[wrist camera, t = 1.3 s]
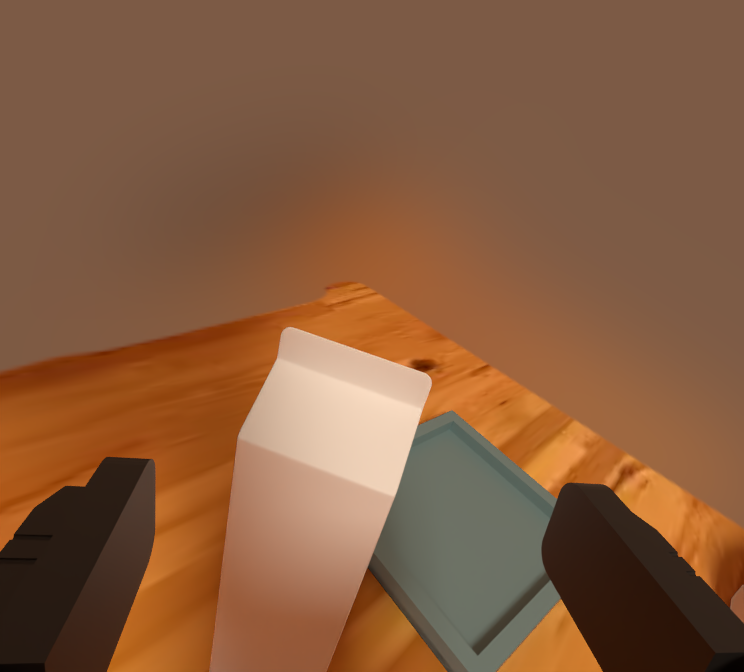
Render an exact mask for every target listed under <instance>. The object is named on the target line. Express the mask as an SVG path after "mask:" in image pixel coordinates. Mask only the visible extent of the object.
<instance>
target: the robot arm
mask: <svg viewBox="0 0 744 672" xmlns="http://www.w3.org/2000/svg"><path fill="white" fill-rule="evenodd" d="M154 535H155V463H154V460H153V459H138V458H120V457H106V458H105V459H104V460H103V461H102V462H101V464H100V465H99V467H98V468H97V470H96V471H95V473H94V474H93V476H92V477H91V479H90V480H89V482H88V483H87V485H86V486H85V487H80V486H65V487H63V488H62V489H60V490H59V491H57V492H56V493H55V494H53V495H52V496H50V497H49V498H47V499H46V500H45V501H43V502H42V503H40V504H39V505H37V506H36V507H35V508H34V509H33V510H32V512H31V513H30V514H29V515H28V517H27V518H26V519H25V521H24V522H23V523H22V525H21V526H20V527H19V528H18V530H17V531H16V532H15V534H14V538H13V540H9V541H8V543H7V544H6V545H5V547H4V548H3V549H2V551H1V552H0V672H107V669H108V667H109V664H110V662H111V659H112V656H113V654H114V651H115V649H116V646H117V643H118V641H119V638H120V636H121V633H122V630H123V628H124V625H125V623H126V620H127V617H128V615H129V612H130V610H131V607H132V604H133V602H134V599H135V597H136V594H137V592H138V589H139V586H140V584H141V581H142V579H143V576H144V573H145V571H146V568H147V565H148V563H149V559H150V556H151V552H152V547H153V542H154ZM541 554H542V561H543V565H544V568H545V571H546V573H547V575H548V576H549V578H550V580H551V582H552V583H553V585H554V587H555V589H556V590H557V592H558V594H559V596H560V597H561V599H562V601H563V603H564V604H565V606H566V608H567V610H568V611H569V613H570V615H571V617H572V618H573V620H574V622H575V623H576V625H577V627H578V629H579V630H580V632H581V634H582V636H583V637H584V639H585V641H586V643H587V644H588V646H589V648H590V650H591V651H592V653H593V655H594V657H595V658H596V660H597V662H598V664H599V665H600V667H601V669H602V671H603V672H744V623H743V622H742V621H741V620H740V619H739V618H738V617H737V615H736V614H735V613H734V612H733V611H732V610H731V609H730V608H729V607H728V606H727V605H726V604H725V603H724V602H723V601H722V599H721V598H720V597H719V596H718V595H717V594H716V593H715V592H714V591H713V590H712V589H711V588H710V587H709V586H708V584H707V583H706V582H705V581H704V580H703V579H702V578H701V577H700V576H696V575H695V571H694V569H693V568H692V567H691V566H690V565H689V564H688V563H687V562H686V561H685V560H684V559H683V558H682V557H678V552H677V551H676V550H675V549H674V548H673V547H672V546H671V545H670V544H669V543H668V542H667V541H666V539H665V538H664V537H663V536H662V535H661V534H660V533H659V532H658V531H657V530H656V529H654V528H653V527H652V526H650V525H649V524H648V523H646V522H645V521H643V520H642V519H641V518H639V517H638V516H637V515H635V514H634V513H632V512H631V511H630V510H629V508H628V507H627V506H626V505H625V504H624V503H623V502H622V501H621V500H620V499H619V497H618V496H617V495H616V494H615V493H614V492H613V491H612V490H611V489H610V488H609V487H607V486H606V485H602V484H584V483H567V484H565V485H564V486H563V487H562V489H561V491H560V493H559V496H558V499H557V501H556V504H555V507H554V510H553V512H552V515H551V518H550V521H549V523H548V526H547V529H546V532H545V534H544V537H543V540H542V546H541Z"/></svg>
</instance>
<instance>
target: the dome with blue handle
mask: <svg viewBox="0 0 744 672" xmlns="http://www.w3.org/2000/svg"><path fill="white" fill-rule="evenodd" d="M730 609H731V610H732V611H733V612H734V613H735V614H736V615H737V617H738V618H739V619H740V620H741V621H742V622H743V623H744V585H742V586H741V587H740V589H739V590H738V591H737V592H736V593H735V594H734V596H733V597H732V598H731V605H730Z"/></svg>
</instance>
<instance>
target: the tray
mask: <svg viewBox="0 0 744 672" xmlns="http://www.w3.org/2000/svg"><path fill="white" fill-rule="evenodd" d="M556 501H557V499H556V498H555V497H554V496H553V495H551V494H550V493H549V492H548V491H547V490H546V489H544V488H543V487H542V486H541V485H540V484H538V483H537V482H536V481H535V480H534V479H533V478H531V477H530V476H529V475H528V474H527V473H525V472H524V471H523V470H522V469H521V468H520V467H518V466H517V465H516V464H515V463H514V462H513V461H511V460H510V459H509V458H508V457H507V456H505V455H504V454H503V453H502V452H501V451H500V450H498V449H497V448H496V447H495V446H494V445H492V444H491V443H490V442H489V441H488V440H487V439H485V438H484V437H483V436H482V435H481V434H480V433H478V432H477V431H476V430H475V429H474V428H472V427H471V426H470V425H469V424H468V423H467V422H465V421H464V420H463V419H462V418H461V417H459V416H458V415H457V414H456V413H455V412H454V411H449V412H447V413H445V414H443V415H440V416H438V417H436V418H434V419H432V420H429V421H427V422H425V423H423V424H420V425H418V426H417V429H416V432H415V435H414V439H413V442H412V445H411V448H410V451H409V455H408V458H407V461H406V464H405V467H404V471H403V474H402V477H401V480H400V484H399V487H398V490H397V493H396V496H395V498H394V501H393V503H392V506H391V508H390V511H389V514H388V516H387V519H386V521H385V524H384V526H383V529H382V531H381V534H380V537H379V539H378V542H377V544H376V547H375V549H374V552H373V554H372V557H371V560H370V562H369V565H368V568H369V570H370V571H371V572H372V573H373V575H374V576H375V577H376V579H377V580H378V581H379V583H380V584H381V585H382V587H383V588H384V589H385V590H386V592H387V593H388V594H389V596H390V597H391V598H392V600H393V601H394V602H395V603H396V605H397V606H398V607H399V609H400V610H401V611H402V613H403V614H404V615H405V616H406V618H407V619H408V620H409V622H410V623H411V624H412V626H413V627H414V628H415V629H416V631H417V632H418V633H419V635H420V636H421V637H422V639H423V640H424V641H425V642H426V644H427V645H428V646H429V648H430V649H431V650H432V652H433V653H434V654H435V655H436V657H437V658H438V659H439V661H440V662H441V663H442V665H443V666H444V667H445V669H446V670H447V671H448V672H497V670H498V669H499V668H500V667H501V666H502V665H503V664H504V663H505V661H506V660H507V659H508V658H509V657H510V656H511V655H512V654H513V652H514V651H515V650H516V649H517V648H518V647H519V646H520V644H521V643H522V642H523V641H524V640H525V639H526V638H527V637H528V635H529V634H530V633H531V632H532V631H533V630H534V629H535V628H536V626H537V625H538V624H539V623H540V622H541V621H542V620H543V619H544V617H545V616H546V615H547V614H548V613H549V612H550V611H551V609H552V608H553V607H554V606H555V605H556V604H557V603H558V602H559V600H560V599H561V597H560V596H559V594H558V592H557V590H556V589H555V587H554V585H553V583H552V582H551V580H550V578H549V576H548V575H547V573H546V571H545V568H544V565H543V561H542V554H541V546H542V540H543V537H544V534H545V532H546V529H547V526H548V523H549V521H550V518H551V515H552V512H553V510H554V507H555V504H556Z"/></svg>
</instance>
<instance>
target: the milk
mask: <svg viewBox="0 0 744 672" xmlns="http://www.w3.org/2000/svg"><path fill="white" fill-rule="evenodd" d="M431 385H432V381H431V378H430V377H429V376H428V375H427V374H425V373H423V372H420V371H417V370H414V369H411V368H408V367H406V366H403V365H400V364H397V363H394V362H391V361H388V360H385V359H383V358H380V357H377V356H374V355H371V354H368V353H365V352H362V351H360V350H357V349H354V348H351V347H348V346H345V345H342V344H339V343H337V342H334V341H331V340H328V339H325V338H322V337H319V336H316V335H313V334H311V333H308V332H305V331H302V330H299V329H296V328H293V327H287V328H285V329H284V330H283V331H282V333H281V338H280V344H279V350H278V356H277V360H276V361H275V363H274V365H273V367H272V369H271V371H270V373H269V375H268V377H267V379H266V381H265V383H264V385H263V387H262V389H261V391H260V393H259V395H258V397H257V399H256V401H255V403H254V404H253V406H252V408H251V410H250V412H249V414H248V416H247V418H246V420H245V422H244V424H243V426H242V428H241V430H240V432H239V434H238V438H237V446H236V454H235V463H234V471H233V479H232V487H231V496H230V504H229V512H228V521H227V529H226V537H225V546H224V554H223V562H222V570H221V579H220V587H219V595H218V604H217V612H216V620H215V629H214V637H213V645H212V653H211V662H210V670H209V672H327V669H328V667H329V664H330V662H331V659H332V657H333V654H334V651H335V649H336V646H337V644H338V641H339V639H340V636H341V634H342V631H343V629H344V626H345V623H346V621H347V618H348V616H349V613H350V611H351V608H352V606H353V603H354V600H355V598H356V595H357V593H358V590H359V588H360V585H361V583H362V580H363V577H364V575H365V572H366V570H367V567H368V565H369V562H370V560H371V557H372V554H373V552H374V549H375V547H376V544H377V542H378V539H379V537H380V534H381V531H382V529H383V526H384V524H385V521H386V519H387V516H388V514H389V511H390V508H391V506H392V503H393V501H394V498H395V496H396V493H397V490H398V487H399V484H400V480H401V477H402V474H403V471H404V467H405V464H406V461H407V458H408V455H409V451H410V448H411V445H412V442H413V439H414V435H415V432H416V429H417V426H418V423H419V419H420V416H421V413H422V410H423V407H424V405H425V402H426V399H427V397H428V394H429V391H430V389H431Z"/></svg>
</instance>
